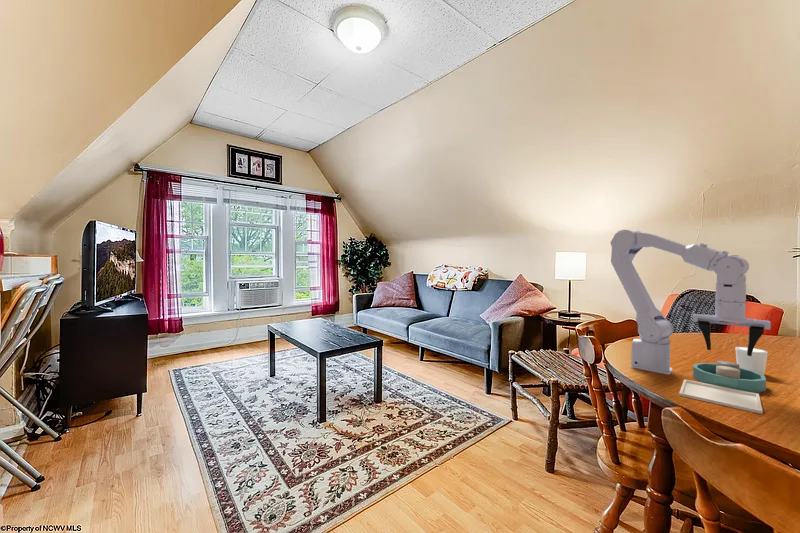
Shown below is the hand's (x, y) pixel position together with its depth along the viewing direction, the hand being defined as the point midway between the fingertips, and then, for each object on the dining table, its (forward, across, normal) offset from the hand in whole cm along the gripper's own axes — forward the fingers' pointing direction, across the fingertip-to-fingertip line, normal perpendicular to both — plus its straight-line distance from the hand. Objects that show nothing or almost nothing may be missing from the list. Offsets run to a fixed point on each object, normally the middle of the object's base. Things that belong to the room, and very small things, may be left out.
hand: (728, 352), depth 89 cm
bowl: (+9, 0, +3) cm, 10 cm away
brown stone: (+8, 0, 0) cm, 8 cm away
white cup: (+10, +5, +21) cm, 24 cm away
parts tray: (+9, -2, -11) cm, 15 cm away
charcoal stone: (+8, 0, +6) cm, 10 cm away
